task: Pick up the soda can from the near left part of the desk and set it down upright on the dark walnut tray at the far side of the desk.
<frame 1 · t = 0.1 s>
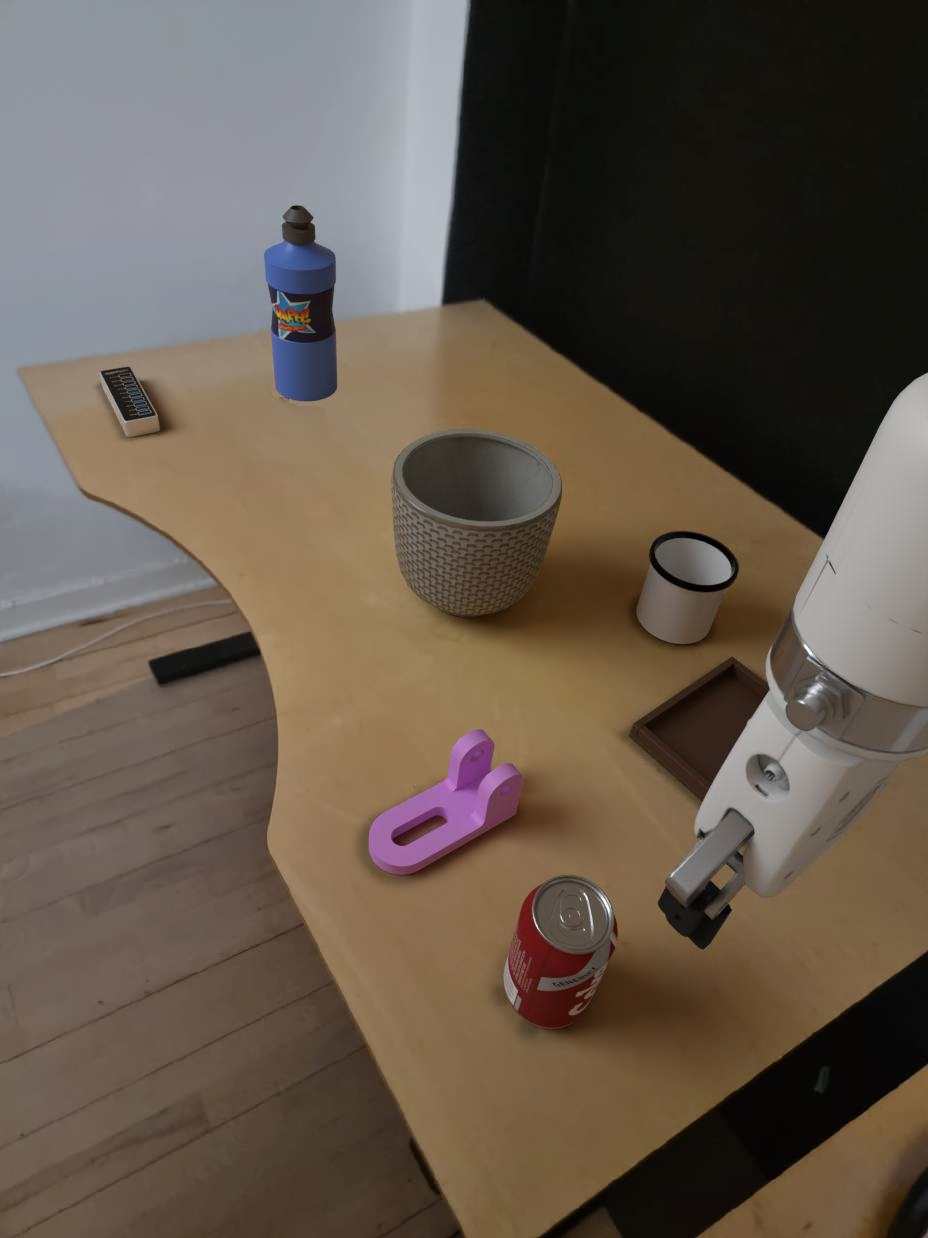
hand: (738, 874, 47), 23 cm above the table, tool pointing down, fingers open, 9 cm apart
planter: (464, 593, 96), on the table
mug: (680, 617, 96), on the table
tray: (740, 751, 83), on the table
water bottle: (306, 386, 125), on the table
soda can: (545, 987, 65), on the table
bracket: (437, 826, 74), on the table
multiport hub: (130, 408, 117), on the table
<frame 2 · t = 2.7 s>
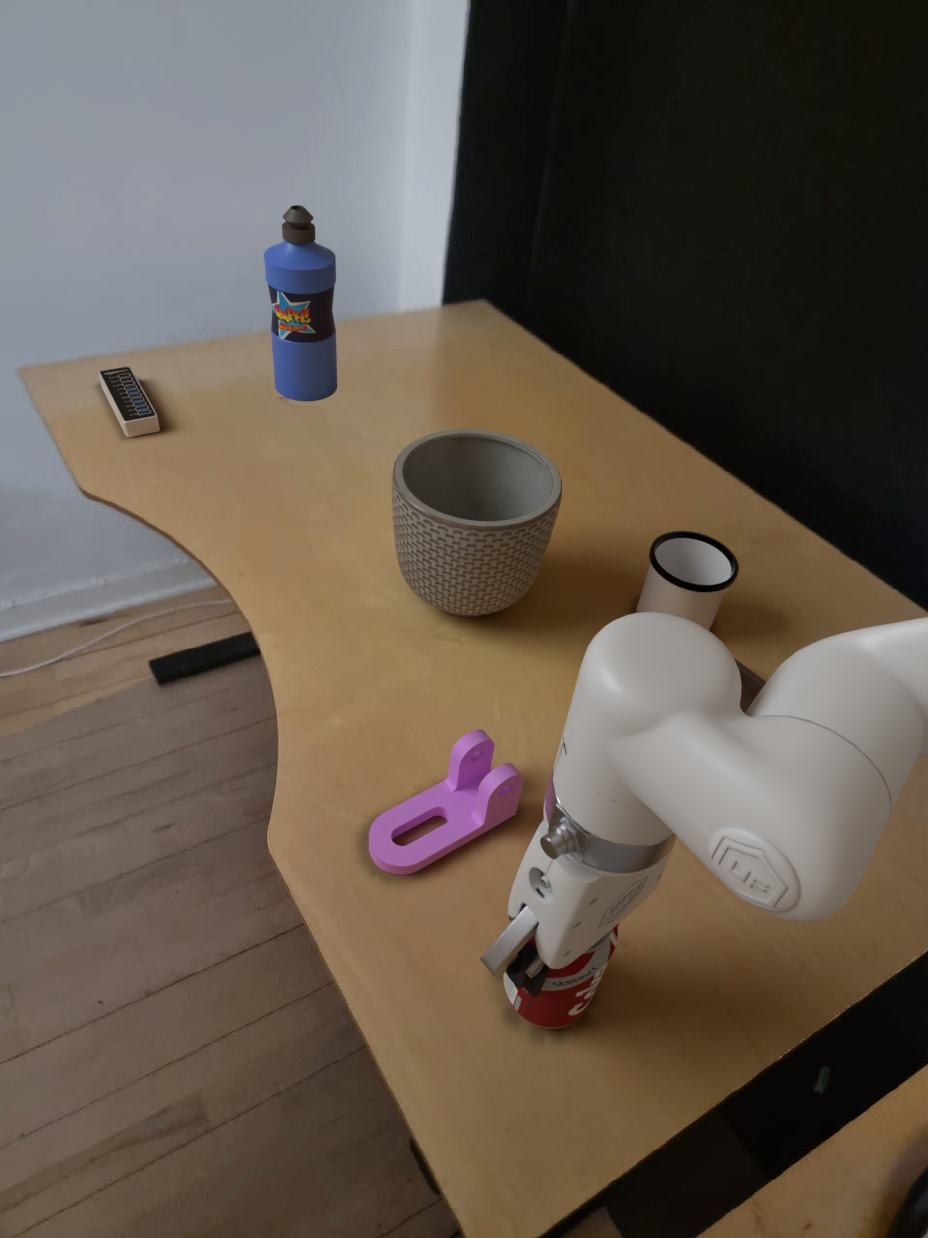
hand: (561, 944, 60), 7 cm above the table, tool pointing down, fingers closed on soda can, 6 cm apart
soda can: (545, 987, 65), on the table, touching gripper
everything else where it was.
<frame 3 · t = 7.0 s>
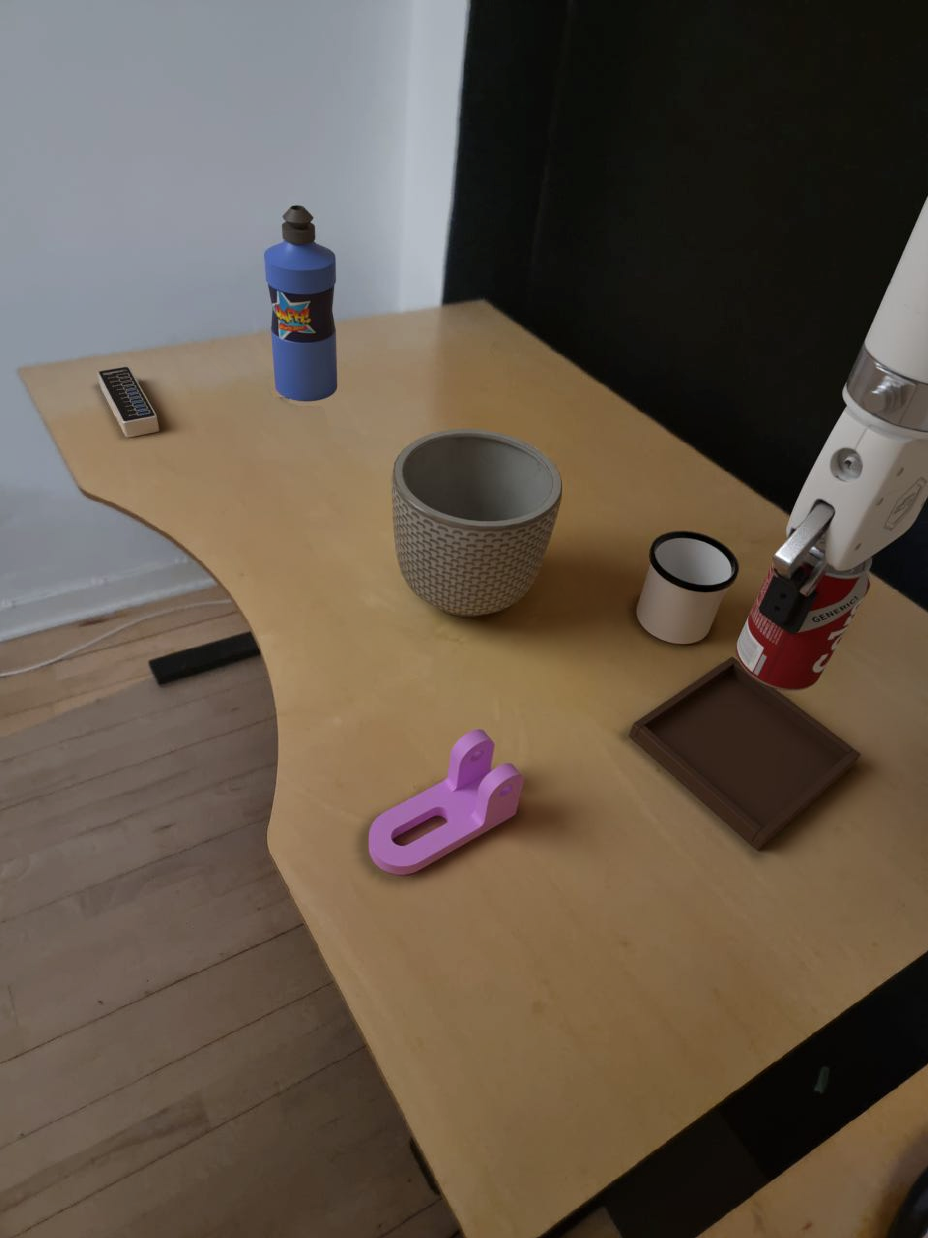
hand: (807, 600, 63), 24 cm above the table, tool pointing down, fingers closed on soda can, 6 cm apart
soda can: (773, 666, 68), point 16 cm above the table, touching gripper
everything else where it was.
when the fingers open (8 cm above the table, at t = 11.5 s): soda can stays where it is, resting on tray.
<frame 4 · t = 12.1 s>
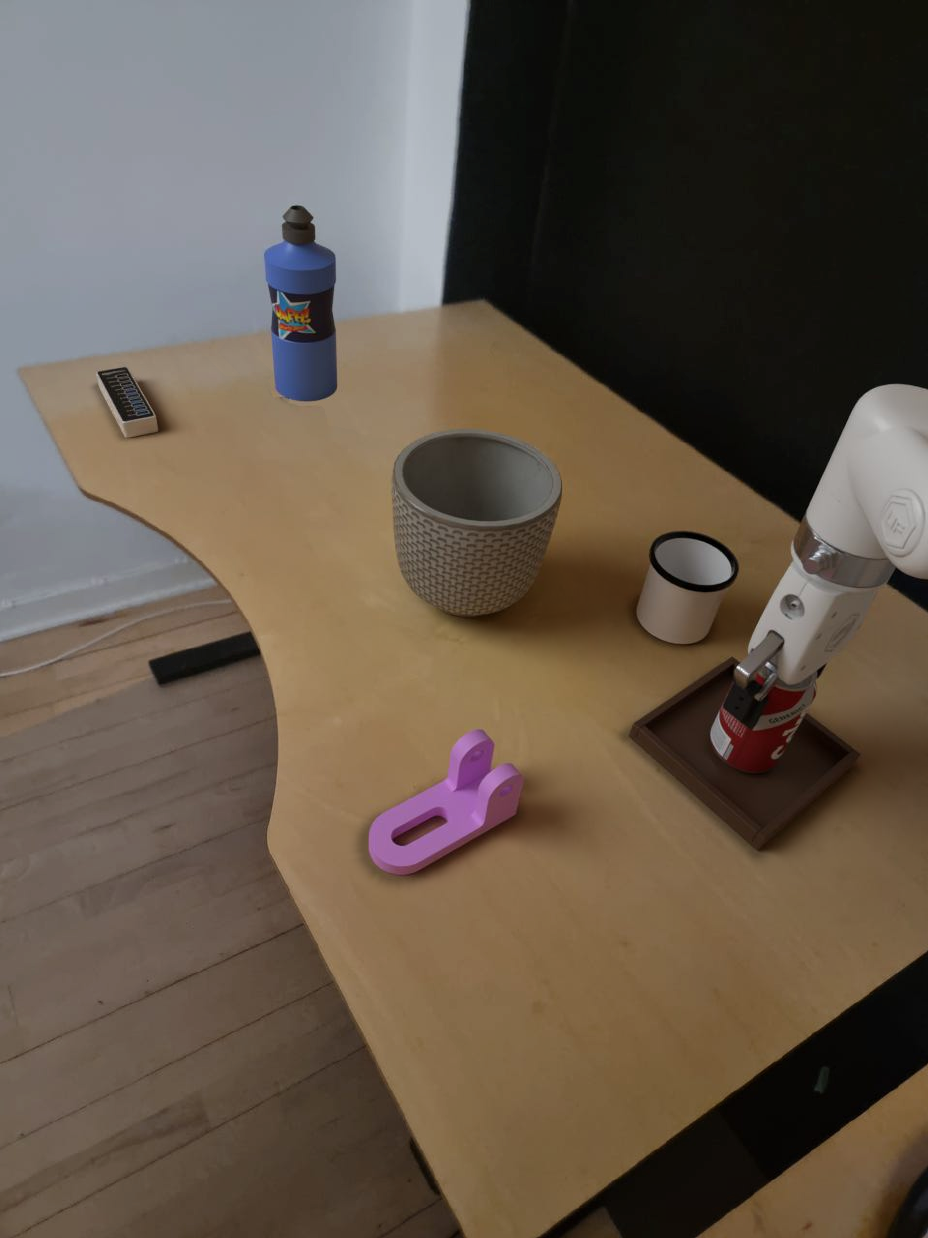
hand: (771, 692, 77), 9 cm above the table, tool pointing down, fingers open, 9 cm apart
soda can: (741, 749, 82), resting on tray
everything else where it was.
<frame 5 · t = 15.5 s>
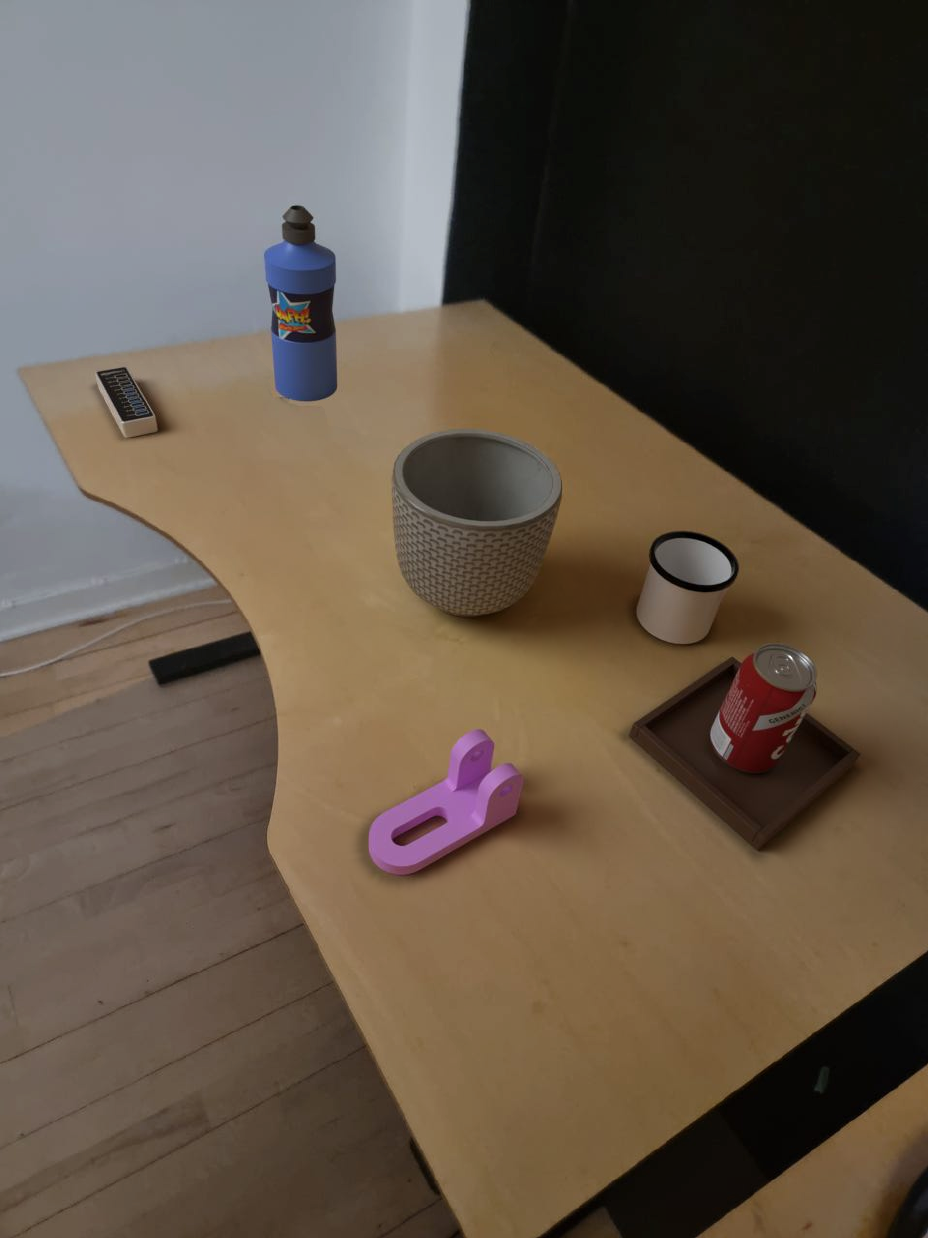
nothing on the table moved.
at the end: soda can inside the target area in the tray (0.1 cm from its centre), point 0.3 cm above the tray's base; soda can tilted 0°; the gripper is holding nothing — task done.
